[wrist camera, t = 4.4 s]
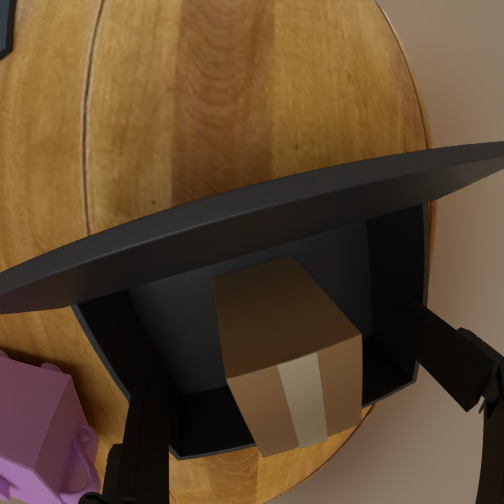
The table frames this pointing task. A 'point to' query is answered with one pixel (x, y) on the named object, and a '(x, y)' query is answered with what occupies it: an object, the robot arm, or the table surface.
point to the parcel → (288, 355)
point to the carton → (208, 337)
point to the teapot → (43, 436)
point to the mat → (6, 26)
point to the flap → (241, 224)
